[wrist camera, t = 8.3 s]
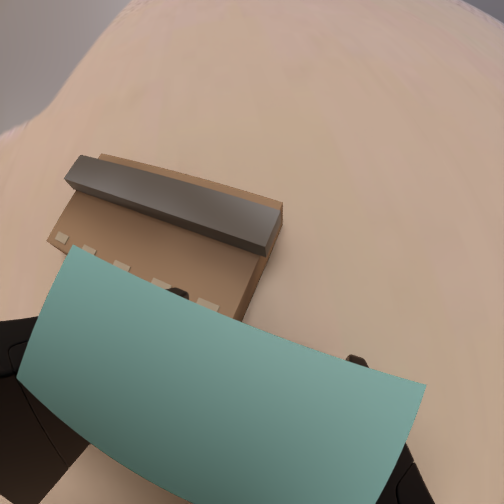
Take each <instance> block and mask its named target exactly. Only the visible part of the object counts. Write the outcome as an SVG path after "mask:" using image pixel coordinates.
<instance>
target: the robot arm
mask: <svg viewBox="0 0 504 504" xmlns="http://www.w3.org/2000/svg"><path fill="white" fill-rule="evenodd" d="M165 290H167V291H169V292H172V293H174V294H176V295H178V296H181V297H183V298H185V299H187V300H189V294H188V292H186V291H184V290H181V289H179V288H176V287H174V288H169V289H165ZM37 319H38V316H37V317H31V318H24V319H17V320H8V321H0V495H2V496H3V497H5V498H6V499H7V500H9V501H10V502H12V503H13V504H39V503H40V502H41V500H42V499H43V498H44V497H45V496H46V495H47V494H48V492H49V491H50V490H51V489H52V488H53V487H54V485H55V484H56V483H57V482H58V481H59V480H60V478H61V477H62V476H63V475H64V474H65V473H66V471H67V470H68V469H69V467H70V466H71V465H72V464H73V463H74V462H75V461H76V459H77V458H78V457H79V456H80V455H81V454H82V452H83V451H84V450H85V449H86V448H87V447H88V445H89V444H90V442H88V441H87V440H86V439H84V438H83V437H82V436H80V435H79V434H78V433H77V432H75V431H74V430H73V429H72V428H70V427H69V426H68V425H67V424H65V423H64V422H63V421H62V420H61V419H59V418H58V417H57V416H56V415H55V414H54V413H52V412H51V411H50V410H49V409H48V408H47V407H46V406H45V405H44V404H42V403H41V402H40V401H39V400H38V399H37V398H36V397H35V396H34V395H33V394H32V393H31V392H30V391H29V390H28V389H27V388H26V387H25V386H24V385H23V384H22V383H21V382H20V381H19V380H18V379H17V378H16V377H17V374H18V371H19V368H20V365H21V362H22V359H23V356H24V353H25V350H26V347H27V345H28V342H29V339H30V337H31V334H32V331H33V329H34V326H35V324H36V321H37ZM346 361H349V362H352V363H355V364H358V365H361V366H364V367H367V368H369V367H368V365H367V363H366V361H365V360H364V359H363V358H361V357H358V356H355V355H349V356H348V357H347V358H346ZM413 462H414V459H413V457H412V455H411V453H410V450H409V448H408V446H407V444H406V442H405V444H404V447H403V449H402V451H401V454H400V456H399V458H398V460H397V462H396V465H395V467H394V469H393V471H392V473H391V475H390V477H389V479H388V481H387V483H386V485H385V487H384V489H383V490H382V492H381V494H380V496H379V498H378V500H377V501H376V503H375V504H435V502H434V501H433V499H432V497H431V495H430V493H429V491H428V489H427V487H426V485H425V483H424V481H423V479H422V476H421V474H420V472H419V470H418V468H417V465H416V463H413Z"/></svg>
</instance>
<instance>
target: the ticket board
mask: <svg viewBox="0 0 504 504" xmlns="http://www.w3.org/2000/svg"><path fill="white" fill-rule="evenodd" d="M64 179H65V180H66V182H67V183H68V184H69V185H70V186H71V187H72V188H73V189H74V190H76V192H75V193H74V195H73V196H72V198H71V200H70V201H69V203H68V204H67V206H66V208H65V209H64V211H63V213H62V214H61V216H60V218H59V220H58V221H57V223H56V225H55V226H54V228H53V230H52V232H51V234H50V235H49V237H48V239H47V242H49V243H50V244H51V245H53V246H54V247H56V248H57V249H59V250H60V251H61V252H63V253H64V254H66V255H68V253H69V251H70V249H71V247H72V245H75V246H77V247H79V248H81V249H83V250H85V251H87V252H88V253H90V254H92V255H94V256H96V257H98V258H100V259H102V260H104V261H106V262H108V263H110V264H112V265H114V266H116V267H118V268H120V269H122V270H124V271H127V272H129V273H131V274H133V275H135V276H137V277H139V278H141V279H143V280H145V281H148V282H150V283H152V284H154V285H156V286H158V287H161V288H163V289H169V288H174V287H176V288H179V289H181V290H184V291H186V292H188V294H189V300H190V301H192V302H194V303H196V304H199V305H201V306H203V307H206V308H208V309H211V310H213V311H215V312H218V313H220V314H222V315H225V316H227V317H230V318H232V319H235V320H237V321H240V322H242V319H243V317H244V315H245V312H246V310H247V308H248V305H249V303H250V301H251V298H252V296H253V294H254V291H255V289H256V287H257V284H258V282H259V280H260V277H261V275H262V272H263V270H264V268H265V265H266V263H267V261H268V258H269V256H270V253H271V251H272V249H273V246H274V244H275V241H276V239H277V237H278V234H279V232H280V229H281V227H282V221H283V203H282V202H279V201H276V200H273V199H270V198H266V197H263V196H260V195H257V194H253V193H250V192H247V191H243V190H240V189H237V188H233V187H230V186H226V185H223V184H219V183H216V182H212V181H209V180H205V179H201V178H198V177H194V176H190V175H187V174H183V173H179V172H175V171H172V170H168V169H164V168H160V167H156V166H152V165H148V164H144V163H140V162H136V161H132V160H127V159H123V158H119V157H115V156H110V155H106V154H101V155H100V156H99V158H98V159H96V158H92V157H88V156H83V155H80V156H79V157H78V159H77V160H76V162H75V163H74V164H73V166H72V167H71V169H70V170H69V172H68V173H67V174H66V176H65V177H64Z"/></svg>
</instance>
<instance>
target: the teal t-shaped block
mask: <svg viewBox="0 0 504 504" xmlns="http://www.w3.org/2000/svg"><path fill="white" fill-rule="evenodd" d="M16 378H17V379H18V380H19V381H20V382H21V383H22V384H23V385H24V386H25V387H26V388H27V389H28V390H29V391H30V392H31V393H32V394H33V395H34V396H35V397H36V398H37V399H38V400H39V401H40V402H41V403H42V404H44V405H45V406H46V407H47V408H48V409H49V410H50V411H51V412H52V413H54V414H55V415H56V416H57V417H58V418H59V419H61V420H62V421H63V422H64V423H65V424H67V425H68V426H69V427H70V428H72V429H73V430H74V431H75V432H77V433H78V434H79V435H80V436H82V437H83V438H84V439H86V440H87V441H88V442H90V443H91V444H92V445H94V446H95V447H97V448H98V449H99V450H101V451H102V452H104V453H105V454H107V455H108V456H110V457H111V458H112V459H114V460H116V461H117V462H119V463H120V464H122V465H123V466H125V467H126V468H128V469H130V470H131V471H133V472H135V473H136V474H138V475H140V476H141V477H143V478H145V479H146V480H148V481H150V482H152V483H154V484H155V485H157V486H159V487H161V488H163V489H165V490H167V491H169V492H170V493H172V494H174V495H176V496H178V497H181V498H183V499H185V500H187V501H189V502H191V503H193V504H375V503H376V501H377V500H378V498H379V496H380V494H381V492H382V490H383V489H384V487H385V485H386V483H387V481H388V479H389V477H390V475H391V473H392V471H393V469H394V467H395V465H396V462H397V460H398V458H399V456H400V454H401V451H402V449H403V447H404V444H405V442H406V440H407V437H408V435H409V432H410V430H411V427H412V425H413V422H414V420H415V417H416V414H417V412H418V409H419V406H420V403H421V400H422V397H423V394H424V391H425V388H426V385H425V384H421V383H417V382H414V381H410V380H407V379H403V378H400V377H397V376H393V375H390V374H387V373H383V372H380V371H377V370H374V369H370V368H367V367H364V366H361V365H358V364H355V363H352V362H349V361H346V360H343V359H340V358H337V357H334V356H331V355H328V354H325V353H322V352H319V351H316V350H314V349H311V348H308V347H305V346H302V345H300V344H297V343H294V342H291V341H289V340H286V339H283V338H281V337H278V336H275V335H273V334H270V333H268V332H265V331H262V330H260V329H257V328H255V327H252V326H250V325H247V324H245V323H242V322H240V321H237V320H235V319H232V318H230V317H227V316H225V315H222V314H220V313H218V312H215V311H213V310H211V309H208V308H206V307H203V306H201V305H199V304H196V303H194V302H192V301H190V300H187V299H185V298H183V297H181V296H178V295H176V294H174V293H172V292H169V291H167V290H165V289H163V288H161V287H158V286H156V285H154V284H152V283H150V282H148V281H145V280H143V279H141V278H139V277H137V276H135V275H133V274H131V273H129V272H127V271H124V270H122V269H120V268H118V267H116V266H114V265H112V264H110V263H108V262H106V261H104V260H102V259H100V258H98V257H96V256H94V255H92V254H90V253H88V252H87V251H85V250H83V249H81V248H79V247H77V246H75V245H72V247H71V249H70V251H69V253H68V255H67V256H66V258H65V260H64V262H63V264H62V266H61V268H60V270H59V272H58V274H57V276H56V278H55V281H54V283H53V285H52V287H51V289H50V291H49V293H48V296H47V298H46V300H45V302H44V305H43V307H42V309H41V312H40V314H39V316H38V319H37V321H36V324H35V326H34V329H33V331H32V334H31V337H30V339H29V342H28V345H27V347H26V350H25V353H24V356H23V359H22V362H21V365H20V368H19V371H18V374H17V377H16Z"/></svg>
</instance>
